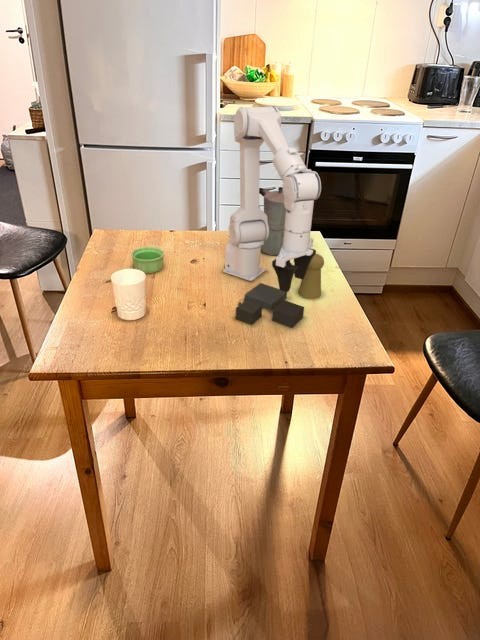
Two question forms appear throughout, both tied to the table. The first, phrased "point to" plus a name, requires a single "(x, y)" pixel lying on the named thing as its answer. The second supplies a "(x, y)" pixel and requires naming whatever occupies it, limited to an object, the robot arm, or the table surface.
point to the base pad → (266, 296)
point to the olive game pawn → (312, 279)
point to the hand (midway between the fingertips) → (291, 284)
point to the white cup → (129, 293)
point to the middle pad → (287, 313)
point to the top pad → (248, 312)
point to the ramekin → (148, 259)
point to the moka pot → (274, 220)
